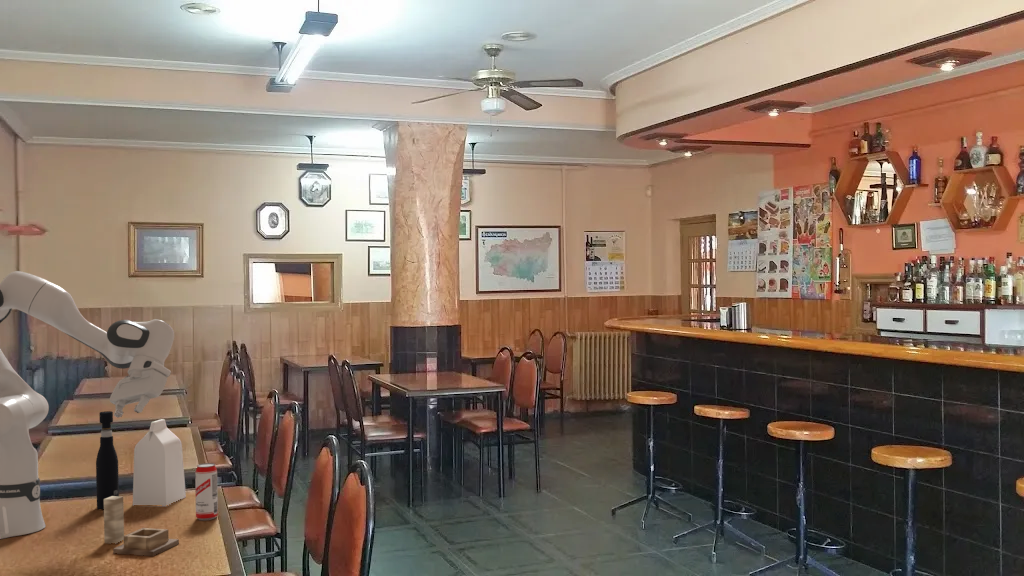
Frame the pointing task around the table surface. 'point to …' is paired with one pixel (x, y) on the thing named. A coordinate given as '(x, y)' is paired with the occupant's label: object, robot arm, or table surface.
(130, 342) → the robot arm
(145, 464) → the milk
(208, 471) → the beer can
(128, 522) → the table surface
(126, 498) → the table surface
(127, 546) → the wooden socket base
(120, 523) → the beige rectangular block
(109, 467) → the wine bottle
